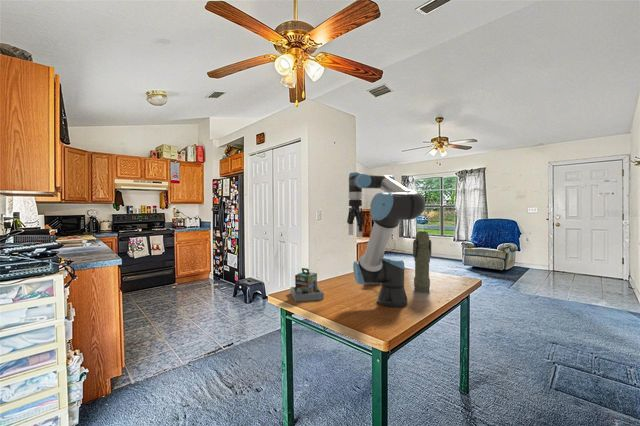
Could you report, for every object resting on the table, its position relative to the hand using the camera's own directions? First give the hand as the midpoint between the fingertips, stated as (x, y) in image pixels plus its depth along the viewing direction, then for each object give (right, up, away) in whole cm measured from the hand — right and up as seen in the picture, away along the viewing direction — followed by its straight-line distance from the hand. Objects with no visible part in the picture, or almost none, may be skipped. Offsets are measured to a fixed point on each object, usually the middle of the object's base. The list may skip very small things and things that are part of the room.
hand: (355, 236), depth 169 cm
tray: (-28, -33, -7) cm, 44 cm away
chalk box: (-28, -32, -7) cm, 43 cm away
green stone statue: (+40, -33, +5) cm, 52 cm away
